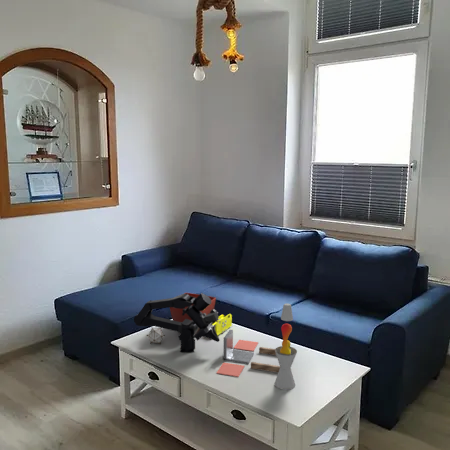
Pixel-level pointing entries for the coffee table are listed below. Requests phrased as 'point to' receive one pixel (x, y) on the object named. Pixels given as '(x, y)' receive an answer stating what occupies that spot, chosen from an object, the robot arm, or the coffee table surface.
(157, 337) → the white faceted polyhedron
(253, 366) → the walnut corral
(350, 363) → the coffee table surface
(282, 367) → the lava lamp
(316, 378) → the coffee table surface
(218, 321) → the yellow toy chassis
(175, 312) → the plant pot
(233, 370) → the mat
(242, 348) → the mat
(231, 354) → the grey bookend
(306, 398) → the coffee table surface
